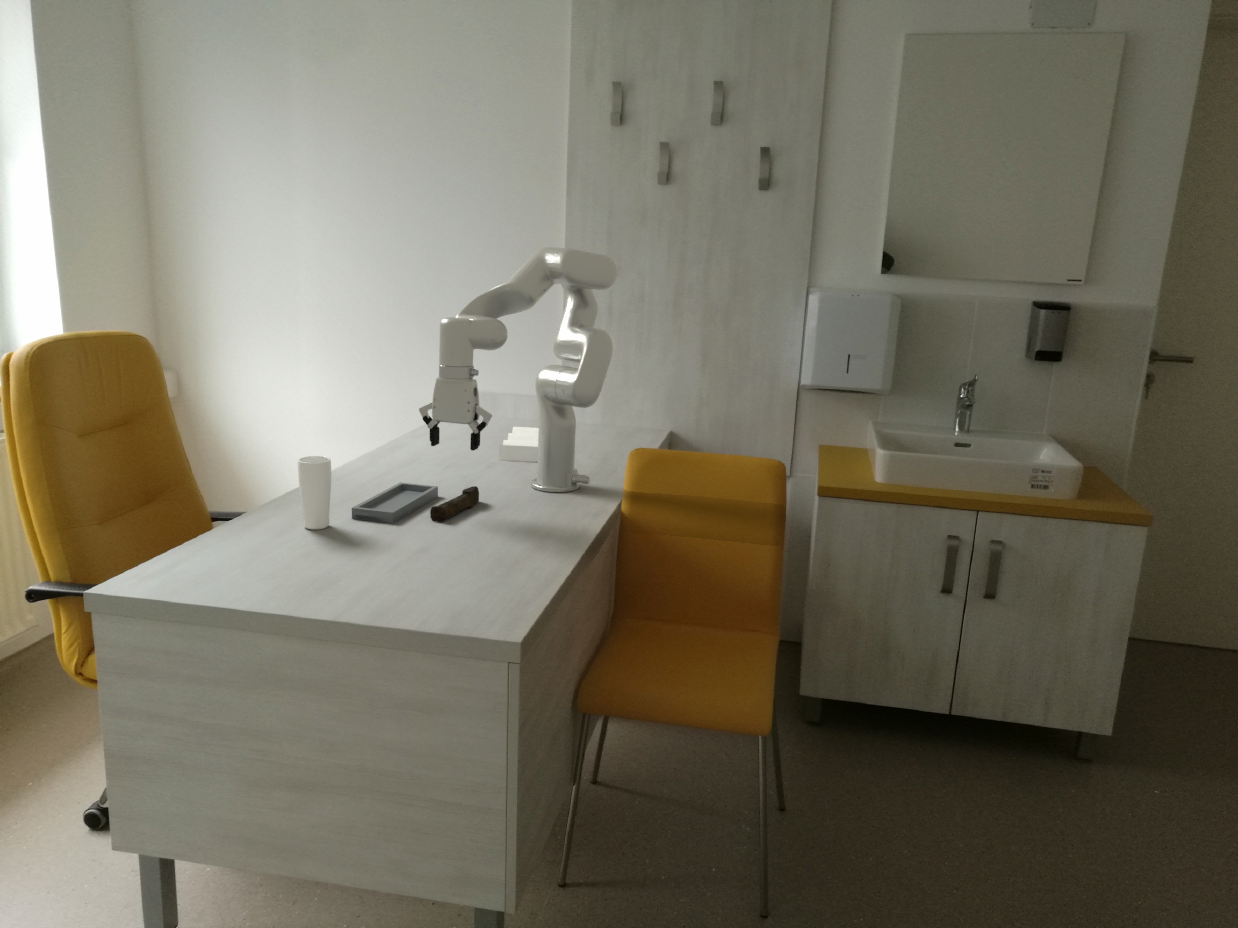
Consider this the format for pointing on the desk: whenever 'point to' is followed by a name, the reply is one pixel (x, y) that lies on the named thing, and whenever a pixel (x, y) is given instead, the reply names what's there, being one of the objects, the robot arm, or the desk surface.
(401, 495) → the tray
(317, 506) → the white tumbler
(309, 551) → the desk surface
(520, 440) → the file organizer
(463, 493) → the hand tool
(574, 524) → the desk surface
